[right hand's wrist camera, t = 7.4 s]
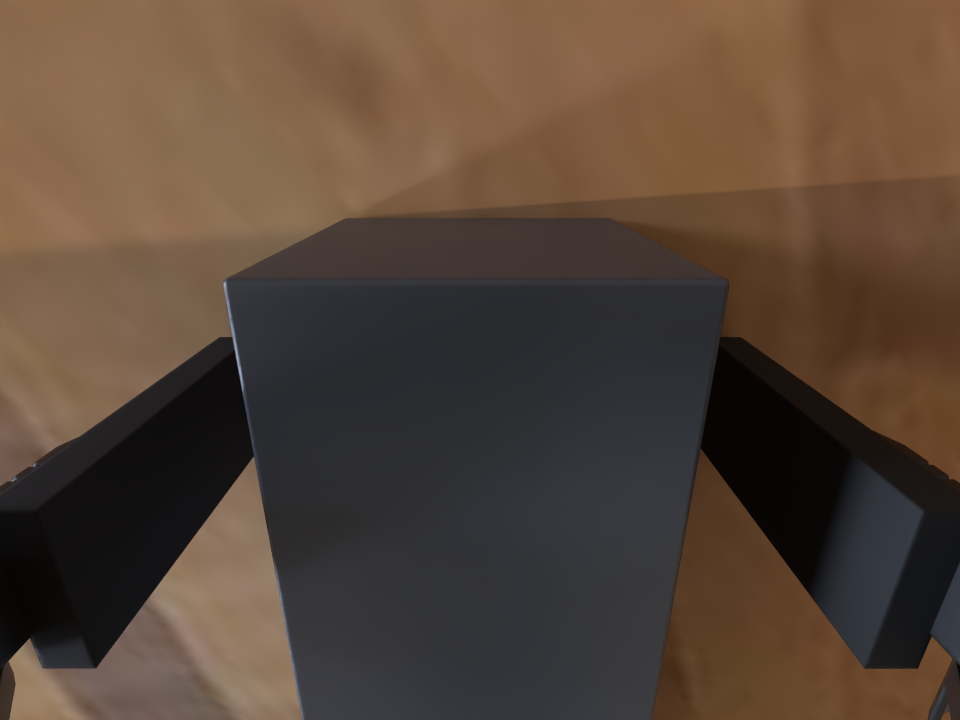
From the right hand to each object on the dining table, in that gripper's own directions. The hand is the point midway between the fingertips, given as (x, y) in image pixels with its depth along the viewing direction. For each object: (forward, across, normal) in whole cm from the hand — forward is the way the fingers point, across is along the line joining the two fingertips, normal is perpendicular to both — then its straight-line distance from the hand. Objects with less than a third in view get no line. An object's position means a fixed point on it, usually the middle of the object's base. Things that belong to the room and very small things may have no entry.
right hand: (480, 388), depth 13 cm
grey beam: (0, 0, -10) cm, 10 cm away
